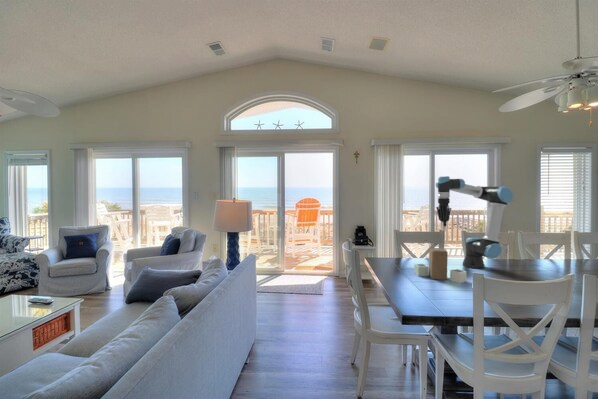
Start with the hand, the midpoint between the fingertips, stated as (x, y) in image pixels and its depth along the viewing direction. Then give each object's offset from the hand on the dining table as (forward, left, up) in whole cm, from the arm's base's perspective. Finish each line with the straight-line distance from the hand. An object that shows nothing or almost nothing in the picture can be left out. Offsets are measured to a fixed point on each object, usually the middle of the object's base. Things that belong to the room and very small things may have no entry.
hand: (443, 230), depth 222 cm
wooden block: (+9, +7, -32) cm, 34 cm away
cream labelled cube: (0, +16, -32) cm, 36 cm away
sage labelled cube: (+16, -2, -32) cm, 36 cm away
